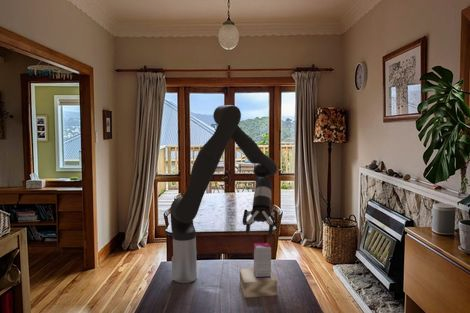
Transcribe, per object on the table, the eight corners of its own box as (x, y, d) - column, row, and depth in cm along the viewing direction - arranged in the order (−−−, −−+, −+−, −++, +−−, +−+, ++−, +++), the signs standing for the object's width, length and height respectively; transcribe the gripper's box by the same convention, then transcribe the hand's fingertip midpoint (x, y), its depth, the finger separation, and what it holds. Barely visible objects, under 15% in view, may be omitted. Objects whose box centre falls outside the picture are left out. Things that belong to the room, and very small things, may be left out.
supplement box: (271, 277, 127) (271, 247, 126) (255, 278, 127) (255, 248, 126) (268, 271, 133) (268, 242, 132) (253, 272, 133) (253, 242, 132)
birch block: (244, 298, 124) (244, 282, 124) (239, 284, 136) (239, 269, 135) (277, 296, 126) (276, 280, 125) (269, 281, 137) (269, 267, 137)
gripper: (244, 194, 145) (239, 228, 135) (278, 195, 142) (276, 230, 132) (246, 204, 151) (242, 237, 140) (279, 205, 148) (277, 239, 137)
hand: (259, 234), depth 136 cm, fingers open, 8 cm apart
